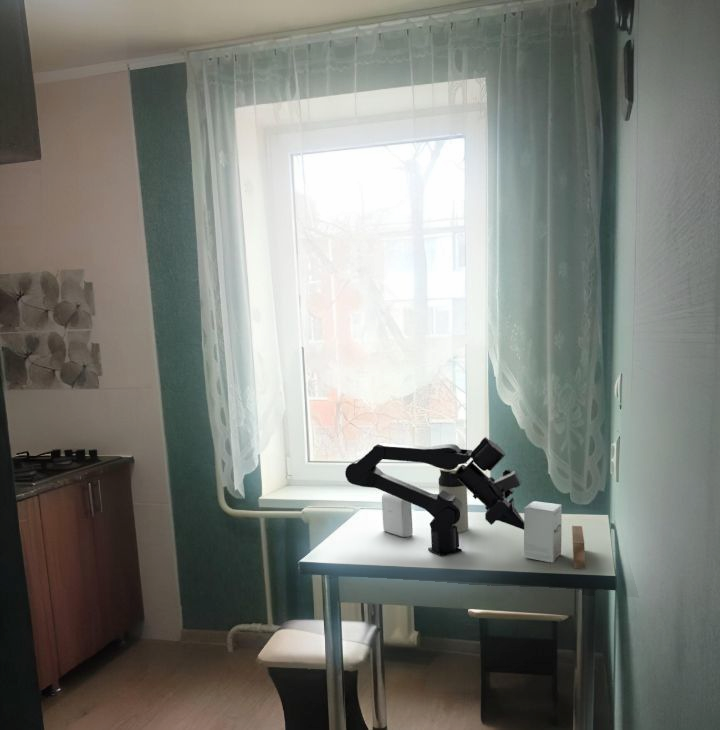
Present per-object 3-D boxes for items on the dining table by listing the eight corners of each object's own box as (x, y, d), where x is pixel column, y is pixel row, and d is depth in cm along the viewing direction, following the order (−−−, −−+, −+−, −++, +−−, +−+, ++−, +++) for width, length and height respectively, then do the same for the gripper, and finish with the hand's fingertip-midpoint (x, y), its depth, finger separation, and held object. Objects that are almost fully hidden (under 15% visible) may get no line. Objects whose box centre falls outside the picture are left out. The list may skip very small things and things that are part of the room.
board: (574, 568, 144) (573, 542, 144) (572, 549, 157) (572, 525, 157) (585, 568, 143) (584, 543, 143) (582, 549, 157) (582, 526, 157)
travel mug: (473, 528, 180) (471, 466, 179) (458, 535, 174) (455, 471, 173) (450, 524, 185) (448, 464, 185) (435, 530, 179) (432, 468, 179)
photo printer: (381, 531, 181) (379, 489, 181) (392, 528, 184) (390, 486, 183) (403, 538, 173) (401, 494, 172) (415, 535, 175) (413, 492, 175)
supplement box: (553, 563, 148) (553, 511, 147) (523, 557, 152) (523, 506, 151) (562, 554, 154) (562, 504, 153) (532, 549, 158) (533, 500, 157)
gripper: (496, 468, 146) (547, 515, 143) (503, 454, 164) (549, 496, 161) (465, 500, 149) (514, 548, 146) (475, 484, 167) (519, 526, 163)
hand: (525, 528), depth 154 cm, fingers closed
